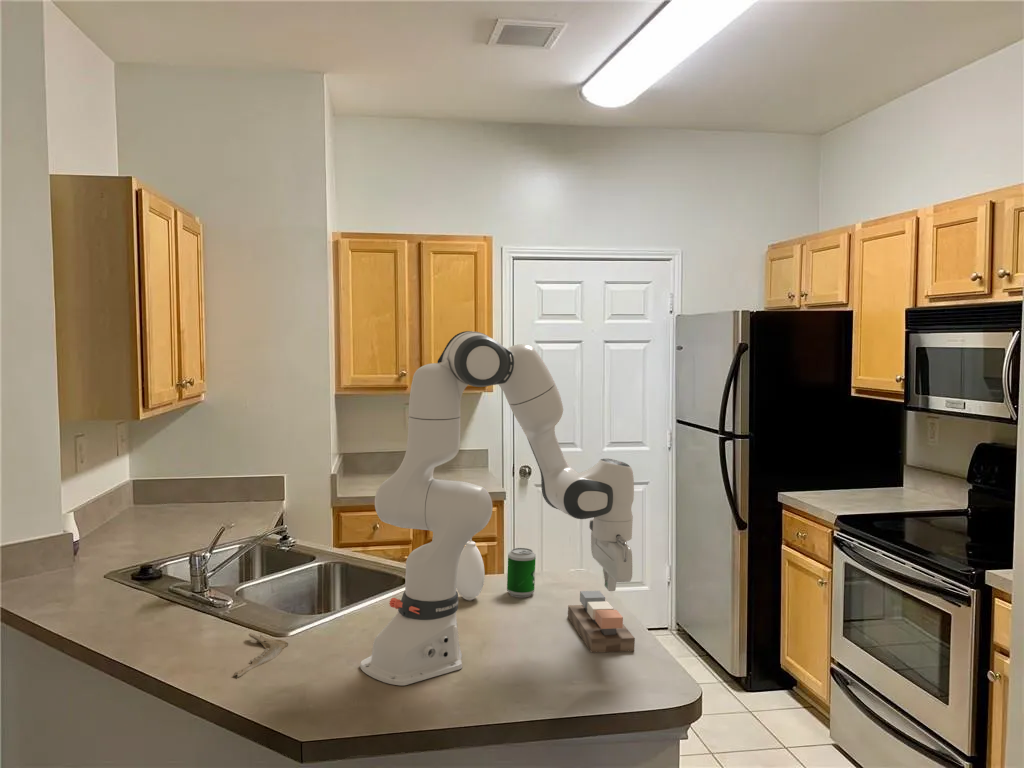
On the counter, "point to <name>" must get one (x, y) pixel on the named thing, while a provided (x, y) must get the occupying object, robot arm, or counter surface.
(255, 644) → the counter surface
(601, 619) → the terracotta key
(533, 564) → the soda can
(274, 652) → the jawbone
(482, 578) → the sauce bottle
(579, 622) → the keypad board
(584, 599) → the slate key
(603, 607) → the ivory key
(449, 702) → the counter surface
